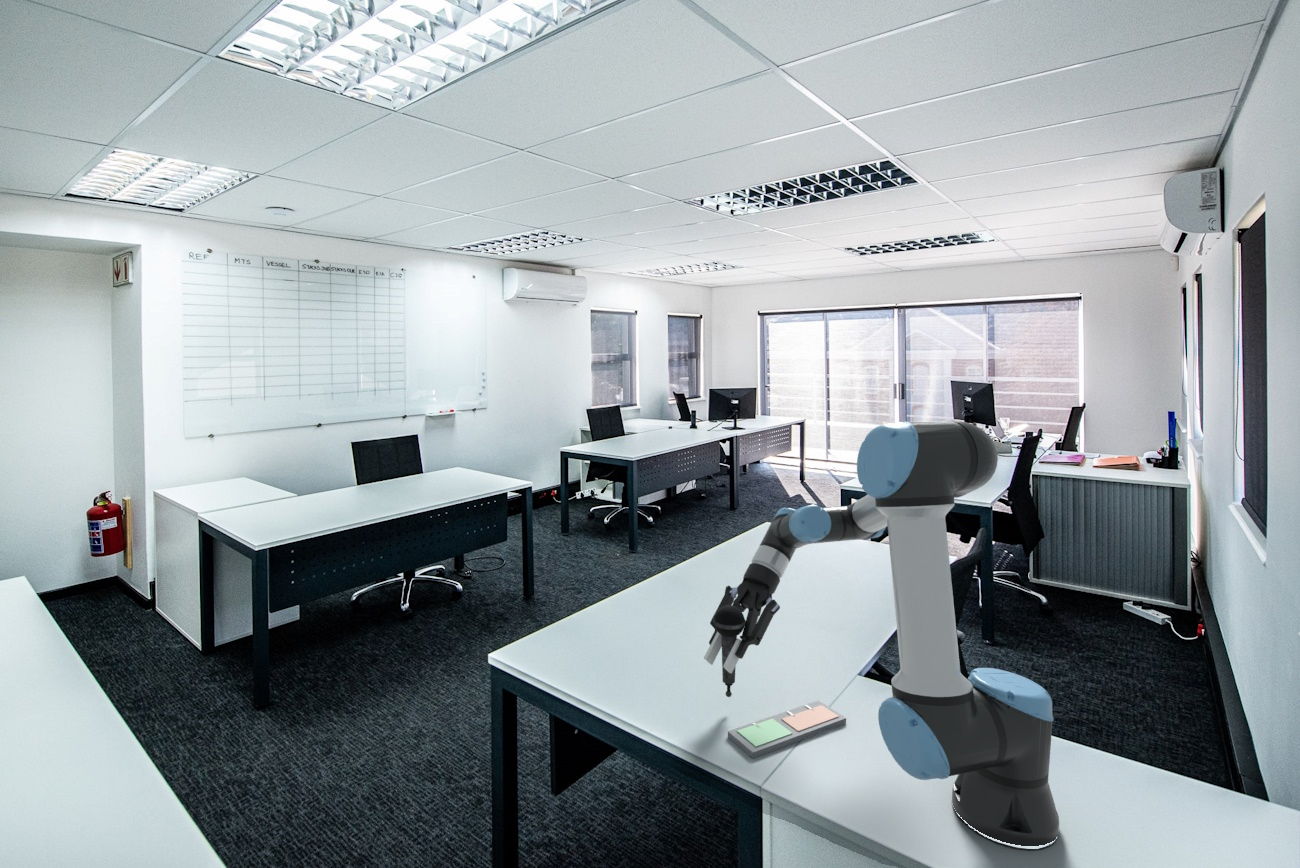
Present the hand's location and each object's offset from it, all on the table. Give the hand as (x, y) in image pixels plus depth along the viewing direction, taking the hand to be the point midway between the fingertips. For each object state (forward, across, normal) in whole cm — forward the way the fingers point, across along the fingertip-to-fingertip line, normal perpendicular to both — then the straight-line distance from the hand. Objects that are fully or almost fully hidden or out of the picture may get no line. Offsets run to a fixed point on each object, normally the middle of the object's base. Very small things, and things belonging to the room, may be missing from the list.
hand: (717, 665), depth 131 cm
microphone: (+3, 0, -9) cm, 9 cm away
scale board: (+3, -13, -12) cm, 18 cm away
